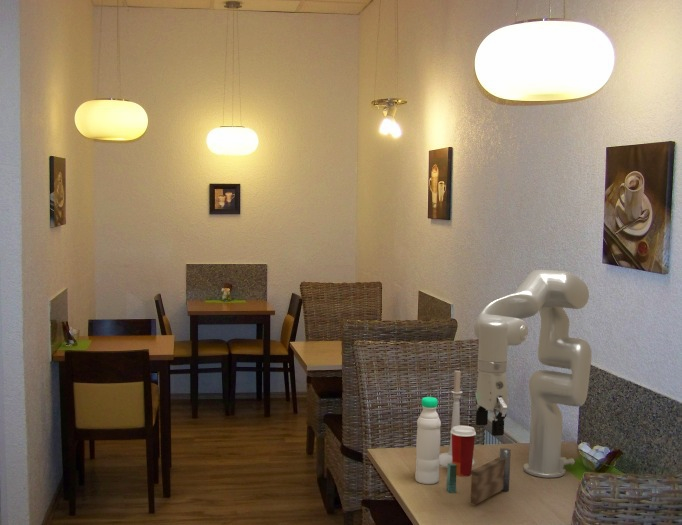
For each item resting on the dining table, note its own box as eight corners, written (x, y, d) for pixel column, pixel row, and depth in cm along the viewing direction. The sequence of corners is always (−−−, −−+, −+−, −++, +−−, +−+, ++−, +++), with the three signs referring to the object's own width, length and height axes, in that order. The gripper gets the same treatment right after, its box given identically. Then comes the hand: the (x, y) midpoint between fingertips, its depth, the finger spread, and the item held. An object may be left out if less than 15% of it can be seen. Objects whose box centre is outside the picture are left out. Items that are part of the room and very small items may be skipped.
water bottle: (437, 486, 239) (440, 402, 236) (413, 483, 240) (416, 400, 238) (439, 477, 246) (442, 396, 243) (416, 475, 247) (419, 394, 245)
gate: (497, 487, 236) (499, 457, 235) (504, 489, 234) (505, 458, 234) (469, 503, 223) (470, 471, 222) (476, 504, 222) (477, 472, 221)
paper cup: (476, 470, 253) (478, 426, 251) (472, 478, 245) (473, 433, 244) (451, 467, 255) (453, 423, 254) (446, 475, 248) (448, 430, 247)
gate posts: (506, 488, 238) (508, 447, 237) (510, 491, 235) (512, 451, 234) (446, 490, 235) (447, 449, 234) (449, 493, 233) (450, 452, 232)
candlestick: (437, 454, 268) (440, 364, 266) (476, 458, 265) (480, 367, 262) (431, 466, 256) (434, 372, 253) (472, 471, 252) (475, 375, 250)
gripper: (520, 373, 209) (517, 438, 210) (490, 359, 225) (488, 420, 227) (493, 374, 207) (490, 440, 208) (465, 360, 223) (463, 421, 225)
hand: (489, 429), depth 218 cm, fingers open, 9 cm apart
